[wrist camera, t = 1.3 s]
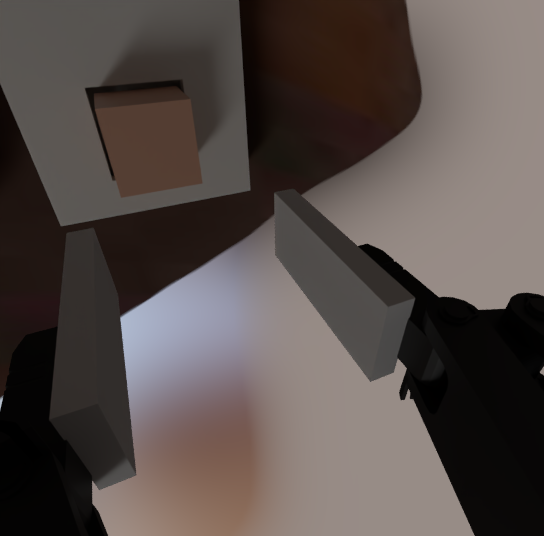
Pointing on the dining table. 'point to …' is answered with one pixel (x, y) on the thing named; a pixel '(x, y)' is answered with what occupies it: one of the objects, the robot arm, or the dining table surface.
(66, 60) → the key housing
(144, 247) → the dining table surface
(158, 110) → the terracotta key
